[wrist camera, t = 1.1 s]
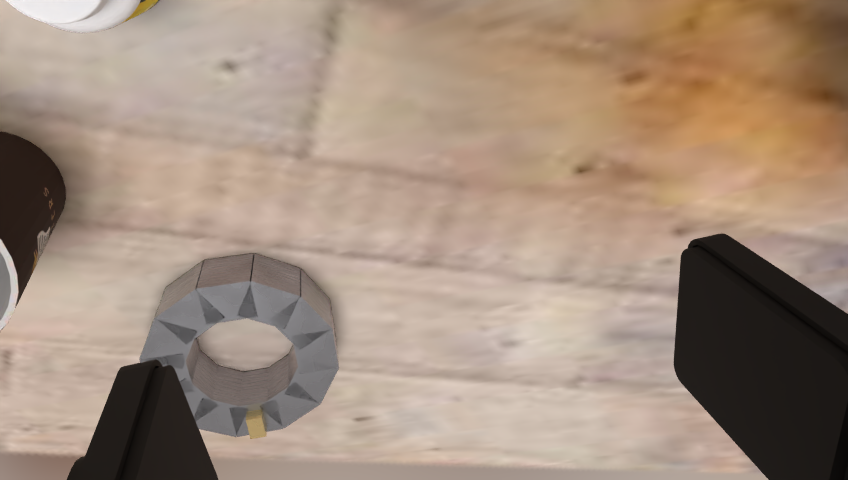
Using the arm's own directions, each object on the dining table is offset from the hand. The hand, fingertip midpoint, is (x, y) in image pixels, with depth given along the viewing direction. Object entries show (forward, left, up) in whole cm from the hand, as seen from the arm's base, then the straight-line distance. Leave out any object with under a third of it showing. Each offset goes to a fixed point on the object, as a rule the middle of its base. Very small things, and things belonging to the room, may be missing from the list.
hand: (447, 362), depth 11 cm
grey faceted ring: (+16, -9, -27) cm, 33 cm away
